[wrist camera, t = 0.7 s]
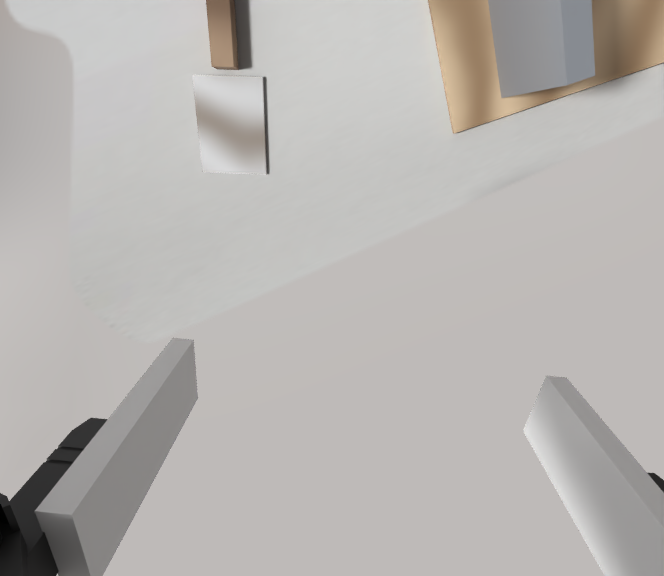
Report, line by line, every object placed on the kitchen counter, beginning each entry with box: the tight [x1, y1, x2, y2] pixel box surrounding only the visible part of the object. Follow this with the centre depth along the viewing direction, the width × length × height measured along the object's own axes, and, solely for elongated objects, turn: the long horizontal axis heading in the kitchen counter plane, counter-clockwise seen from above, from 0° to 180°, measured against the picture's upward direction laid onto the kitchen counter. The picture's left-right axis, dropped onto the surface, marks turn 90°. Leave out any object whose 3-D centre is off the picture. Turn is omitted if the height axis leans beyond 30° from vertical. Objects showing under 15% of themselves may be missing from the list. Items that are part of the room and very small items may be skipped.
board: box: [428, 0, 664, 133], centre depth 29 cm, size 18×12×1 cm, turn 108°
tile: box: [488, 0, 595, 98], centre depth 25 cm, size 2×9×10 cm, turn 19°
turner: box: [192, 0, 267, 174], centre depth 31 cm, size 18×6×2 cm, turn 178°
